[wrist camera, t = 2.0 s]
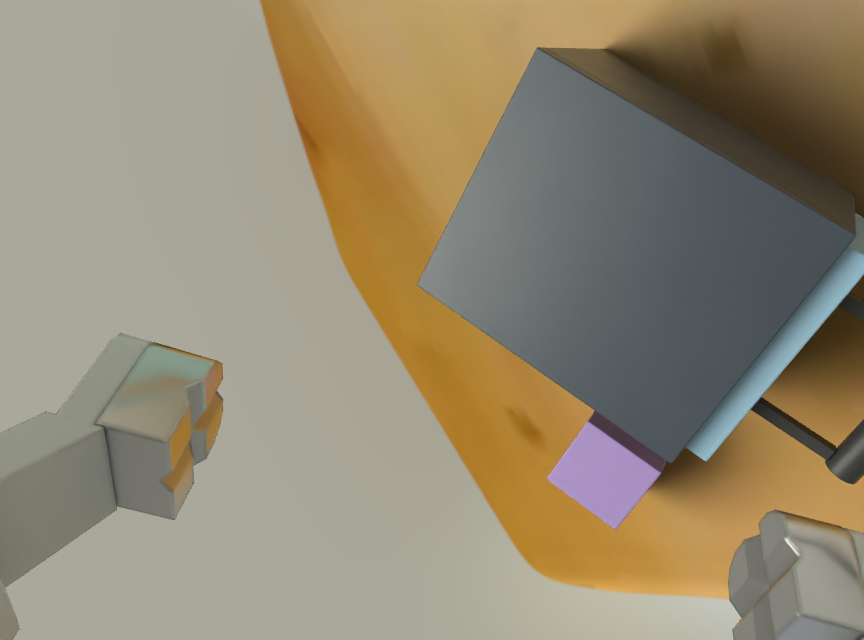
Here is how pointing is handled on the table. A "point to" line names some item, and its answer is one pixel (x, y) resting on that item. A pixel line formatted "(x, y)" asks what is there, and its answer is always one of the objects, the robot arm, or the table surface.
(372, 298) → the table surface
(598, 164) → the drawer cabinet
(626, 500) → the purple block
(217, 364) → the robot arm
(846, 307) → the blue drawer
